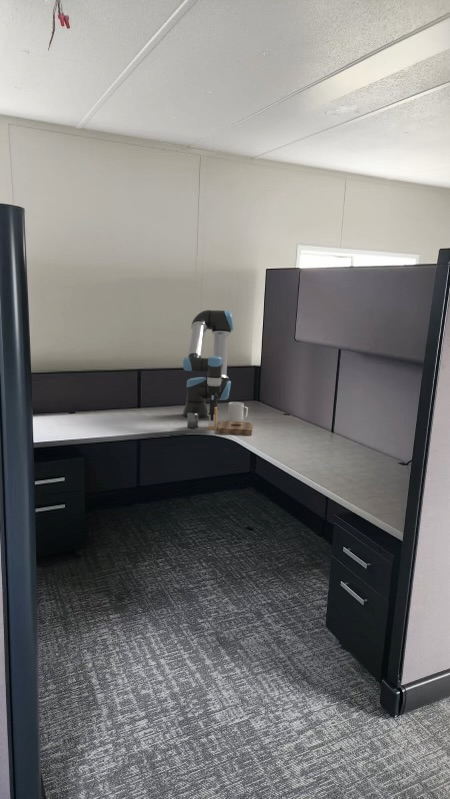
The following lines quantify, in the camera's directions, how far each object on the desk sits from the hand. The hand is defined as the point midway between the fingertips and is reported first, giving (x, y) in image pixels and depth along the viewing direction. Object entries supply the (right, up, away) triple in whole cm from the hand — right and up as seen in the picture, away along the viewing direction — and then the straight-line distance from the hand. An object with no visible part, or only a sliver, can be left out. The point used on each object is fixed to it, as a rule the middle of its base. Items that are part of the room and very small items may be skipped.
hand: (213, 423), depth 299 cm
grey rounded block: (-11, -2, +1) cm, 12 cm away
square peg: (0, -3, +1) cm, 3 cm away
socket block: (+12, -4, -2) cm, 13 cm away
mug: (+14, 0, +19) cm, 24 cm away
